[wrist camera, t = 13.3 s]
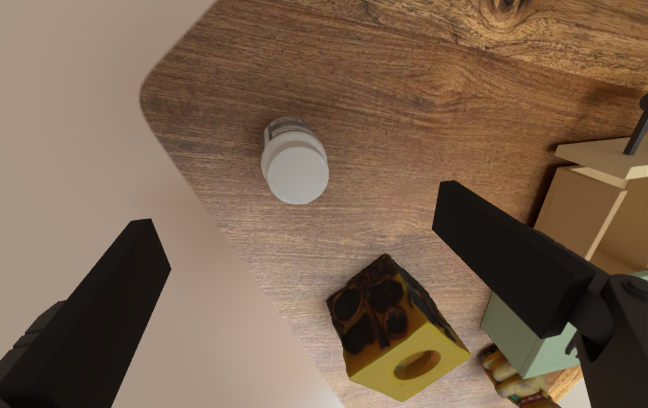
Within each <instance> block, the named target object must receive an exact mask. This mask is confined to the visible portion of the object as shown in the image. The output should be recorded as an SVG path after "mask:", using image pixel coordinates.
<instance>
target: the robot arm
mask: <svg viewBox="0 0 648 408" xmlns="http://www.w3.org/2000/svg"><path fill="white" fill-rule="evenodd" d="M432 230H433V231H434V232H435V233H436V234H437V235H438V236H439V237H440V238H441V239H442V240H443V241H444V242H445V243H446V244H447V245H448V246H449V247H450V248H451V249H452V250H453V251H454V252H455V253H456V254H457V255H458V256H459V257H460V258H461V259H462V260H463V261H464V262H465V263H466V264H467V265H468V266H469V267H470V268H471V269H472V270H473V271H474V272H475V273H476V274H477V275H478V276H479V277H480V278H481V279H482V280H483V281H484V282H485V284H486V285H487V286H488V287H489V288H490V289H491V290H492V291H493V292H494V293H495V294H496V295H497V296H498V297H499V298H500V299H501V300H502V301H503V302H504V303H505V304H506V305H507V306H508V307H509V308H510V309H511V310H512V311H513V312H514V313H515V314H516V315H517V316H518V317H519V318H520V319H521V320H522V321H523V322H524V323H525V324H526V325H527V326H528V327H529V328H530V329H531V330H532V331H533V332H534V333H535V334H536V335H537V336H538V337H539V338H540V339H545V338H550V337H554V336H558V335H561V334H562V332H563V330H564V328H565V327H566V325H567V323H568V322H569V323H570V324H571V325H573V326H574V327H575V328H576V329H577V330H576V332H575V334H574V335H573V337H572V338H571V340H570V342H569V343H568V345H567V347H566V348H565V354H567V355H570V353H571V352H572V350H573V348H576V349H577V355H576V356H575V358H578V359H579V361H580V365H581V369H582V373H583V377H584V380H585V384H586V388H587V392H588V396H589V400H590V404H591V408H648V281H647V280H645V279H643V278H639V277H636V276H633V275H627V274H613V275H610V274H608V273H607V272H605V271H603V270H602V269H600V268H599V267H597V266H595V265H594V264H592V263H591V262H589V261H587V260H586V259H584V258H583V257H581V256H579V255H578V254H576V253H575V252H573V251H571V250H570V249H566V248H565V246H563V245H562V244H560V243H559V242H555V240H554V239H552V238H551V237H549V236H547V235H546V234H544V233H543V232H541V231H538V230H536V229H533V228H531V227H528V226H525V225H524V224H522V223H521V222H519V221H518V220H516V219H514V218H513V217H511V216H510V215H508V214H507V213H505V212H503V211H502V210H500V209H499V208H497V207H496V206H494V205H493V204H491V203H489V202H488V201H486V200H485V199H483V198H482V197H480V196H478V195H477V194H475V193H474V192H472V191H471V190H469V189H467V188H466V187H464V186H463V185H461V184H460V183H458V182H457V181H455V180H452V181H444V182H440V186H439V192H438V197H437V203H436V209H435V214H434V220H433V225H432ZM170 271H171V267H170V264H169V262H168V259H167V257H166V254H165V252H164V249H163V247H162V244H161V242H160V239H159V237H158V234H157V232H156V230H155V227H154V225H153V222H152V220H151V219H142V220H134V221H131V222H130V223H129V224H128V225H127V226H126V228H125V229H124V230H123V231H122V232H121V234H120V235H119V236H118V237H117V239H116V240H115V241H114V242H113V244H112V245H111V246H110V247H109V248H108V250H107V251H106V252H105V253H104V255H103V256H102V257H101V258H100V260H99V261H98V262H97V263H96V265H95V266H94V267H93V268H92V269H91V271H90V272H89V273H88V274H87V276H86V277H85V278H84V279H83V281H82V282H81V283H80V284H79V285H78V287H77V288H76V289H75V290H74V292H73V293H72V294H71V295H70V297H69V298H68V299H67V300H64V301H58V302H57V303H56V304H54V305H53V306H52V307H50V308H49V309H48V310H47V311H45V312H44V313H43V314H41V315H40V316H39V317H38V318H37V319H36V320H35V321H34V323H33V324H32V325H31V326H30V327H29V328H28V330H27V331H26V332H25V335H24V336H21V337H20V339H19V340H18V341H17V342H16V343H15V344H14V346H13V349H12V350H9V351H8V352H7V354H6V355H5V356H4V357H3V358H2V359H1V360H0V408H111V406H112V404H113V402H114V399H115V397H116V395H117V392H118V390H119V388H120V386H121V383H122V381H123V379H124V376H125V374H126V372H127V370H128V367H129V365H130V363H131V361H132V358H133V356H134V353H135V351H136V349H137V347H138V344H139V342H140V340H141V337H142V335H143V333H144V331H145V328H146V326H147V324H148V321H149V319H150V317H151V315H152V312H153V310H154V308H155V305H156V303H157V301H158V299H159V296H160V294H161V291H162V289H163V287H164V285H165V283H166V280H167V278H168V276H169V273H170Z"/></svg>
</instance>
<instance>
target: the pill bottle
mask: <svg viewBox="0 0 648 408" xmlns="http://www.w3.org/2000/svg"><path fill="white" fill-rule="evenodd" d="M261 169H262V172H263V175H264V177H265V179H266V181H267V182H268V185H269V188H270V190H271V191H272V193H273V194H274V195H275V196H276V197H277V198H278V199H280V200H281V201H283V202H285V203H288V204H294V205H301V204H306V203H309V202H311V201H313V200H315V199H316V198H318V197H319V196H320V195H321V194H322V193H323V191H324V190H325V188H326V186H327V183H328V180H329V169H328V166H327V155H326V152H325V149H324V147H323V145H322V144H321V143H320V141H319V140H318V138H317V137H316V136H315V134H314V133H313V131H312V130H311V128H310V127H309V126H308V125H307V124H306V123H305V122H304V121H302V120H301V119H299V118H296V117H291V116H285V117H280V118H277V119H275V120H274V121H272V122H271V123H270V124H269V125H268V126H267V127H266V129H265V131H264V133H263V136H262V141H261Z"/></svg>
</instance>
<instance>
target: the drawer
mask: <svg viewBox="0 0 648 408" xmlns="http://www.w3.org/2000/svg"><path fill="white" fill-rule="evenodd" d="M639 106H640V108H641V109H642V110H644V112H643V114H642V116H641V118H640V120H639V122H638V124H637V126H636V128H635V130H634V132H633V134H632V136H631V137H629V138H620V139H611V140H602V141H592V142H583V143H574V144H565V145H558V147H557V149H556V152H555V155H554V156H557V157H559V158H562V159H565V160H568V161H571V162H574V163H577V164H580V165H574V166H566V167H558V168H557V170H556V173H555V175H554V178H553V181H552V183H551V186H550V188H549V191H548V193H547V196H546V198H545V201H544V203H543V206H542V208H541V211H540V213H539V216H538V218H537V221H536V223H535V226H534V228H533V229H536V230H538V231H541V232H543V233H544V234H546V235H547V236H549V237H551V238H552V239H554V240H555V242H559V243H560V244H562V245H563V246H565V248H566V249H570V250H571V251H573V252H575V253H576V254H578V255H579V256H581V257H583V258H584V259H586V260H587V261H589V262H591V263H592V264H594V265H595V266H597V267H599V268H600V269H602V270H603V271H605V272H607V273H608V274H610V275H613V274H630V273H635V272H640V271H645V270H648V135H647V136H644V135H645V133H646V131H647V129H648V94H646V95H644V96H643V97H642V98H641V100H640V103H639Z"/></svg>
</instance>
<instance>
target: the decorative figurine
mask: <svg viewBox="0 0 648 408" xmlns="http://www.w3.org/2000/svg"><path fill="white" fill-rule="evenodd" d="M480 358H481V359H482V364H483V366H484V367H483V369H484V370H485V372H486V373H487V375H488V376H489V378H490V380H491V382H492V383H493V384H494V387H495V390H496V392H497V393H498V395H499V396H500V397H502V398H505V397H507V398H508V399H509V400H510V401H511V402H512V403H514V404H515V405H517V406H518V407H520V408H561V407H560V406H559V405H557V404H556V403H555V402H553V399H552V398H551V396H550V395H548V391H547V383H546V378H545V375H544V374H543V375H539V376H535V377H531V378H527V379H523V378H522V377H521V376H520V374H519V373H518V372H517V370H516V369H515V368H514V367H513V365H512V364H511V363H510V362H509V361H508V359H507V358H506V357H505V356H504V354H503V353H502V352H501V351H500V349H499V348H498V347H497V348H495V349H494V350H493V351H489V352H488V353H486V354H484V355H483V356H481V357H480Z"/></svg>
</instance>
